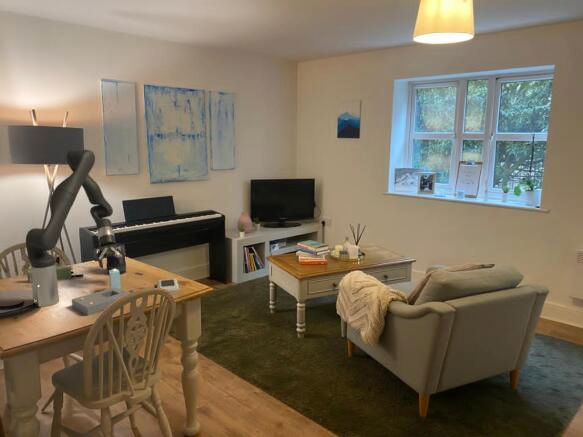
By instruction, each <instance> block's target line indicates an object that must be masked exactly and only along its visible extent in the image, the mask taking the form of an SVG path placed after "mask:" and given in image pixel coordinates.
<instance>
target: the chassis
mask: <svg viewBox="0 0 583 437" xmlns="http://www.w3.org/2000/svg"><path fill="white" fill-rule="evenodd" d="M127 294H129V292H127V291H126V290H123V289H118V288H116V287H114V288H111V289H110V288H109V289H108V288H107V289H104V290H100V291H97V292H94V293H89V294H86V295H83V296H78V297H74V298H71V305H72V306H71V307H72V308H74V309H76V311H77V310H78V312H81V313H83V314H85V315H86V316H91V315H95V314H98V313H101V312H104V311H103V310H104V309H106V308H107V307H108V306H109V305H110V304H112V303H113V302H115V301H116V300H117V299H119V298H121V297H123V296H125V295H127Z"/></svg>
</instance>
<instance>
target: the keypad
mask: <svg viewBox="0 0 583 437" xmlns="http://www.w3.org/2000/svg"><path fill="white" fill-rule="evenodd" d="M157 288H162V289H166V290H168V291H170V292H171V293H172V294H171V295H175V294H176V295H179V294H180V287H179V284H178V279H177V278H168V279H159V280H156V289H157Z"/></svg>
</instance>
